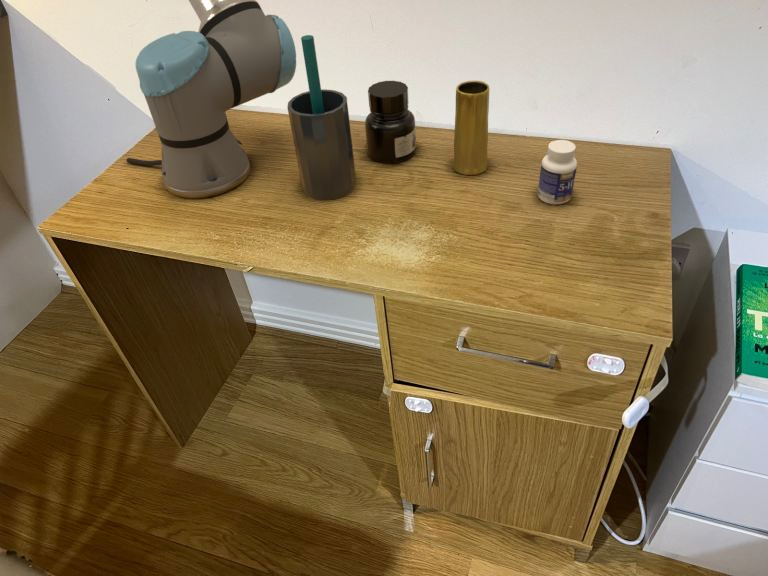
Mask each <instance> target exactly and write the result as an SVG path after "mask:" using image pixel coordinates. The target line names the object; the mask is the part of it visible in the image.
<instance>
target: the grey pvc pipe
mask: <svg viewBox="0 0 768 576" xmlns="http://www.w3.org/2000/svg"><path fill="white" fill-rule="evenodd" d="M321 92H322V99H323V106H324V113H320V114H313V111H312V105H311V98H310V92H309V90H308V91H304V92H301V93H299V94H297V95H295V96H293V97H292V98H291V99H290V100H289V101H288V102H287V113H288V118H289V124H290V128H291V129H290V130H291V135H292V139H293V140H292V141H293V145H294V150H295V151H294V152H295V155H296V161H297V167H298V172H299V177H300V184H301V187H302V190H303V193H304V194H305V195H306V196H308V197H309V198H311V199H314V200H319V201H331V200H332V201H333V200H337V199H341V198H344V197H346V196H348V195H349V194H350V193H352V192H353V191H354V190H355V188H356V186H357V175H356V173H357V172H356V165H355V156H354V148H353V139H352V131H351V122H350V121H351V120H350V114H349V104H348V97H347V96H346V95H345V94H344V93H343V92H341V91H339V90H335V89H326V88H325V89H323V88H321Z"/></svg>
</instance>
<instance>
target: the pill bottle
mask: <svg viewBox="0 0 768 576" xmlns="http://www.w3.org/2000/svg"><path fill="white" fill-rule="evenodd" d="M576 148H577V145H575V143H574V142H572V141H570V140H566V139H557V140H552V141H551V142H549V144H548V146H547V153H546V155H545V156H544V157H543V158H542V160H541V165H540V171H539V172H540V174H539V180H538V186H537V197H538V198H539V200H540V201H542V202H544V203H545V204H549V205H563V204H566V203H568V202H569V201H570V200H571V199H572V195H573V189H574V185H575V179H576V173H577V169H578V160H577V159H576V157H575V155H576Z"/></svg>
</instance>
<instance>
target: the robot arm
mask: <svg viewBox="0 0 768 576" xmlns="http://www.w3.org/2000/svg"><path fill="white" fill-rule="evenodd" d="M188 2H189V4H190V6H191V7H192V9H193V11H194V12H195V14H196V16H197V18H198V19H199V22H200V24H199V27H198V31H195V30H183V31H180V32H178V33H175V32H172V33H170V34H169V33H168V34H166V35H164V36H161V37H159V38H156V39H155V40H153V41H151V42H149V43H148V44H147V45H145V46H144V47H143V48H142V49H141V50H140V52H139V53H138V55H137V57H136V59H135V70H136V74H137V77H138V80H139V87H140V88H139V89H140V90H141V93H142V94H143V96H144V99H145V101H146V104H147V106H148V110H149V112H150V115H151V119H152V121H153V124H154V127H155V129H156V132H157V135H158V138H159V140H160V141H159V142H160V144H161V159H156V160H144V159H138V158H132V157H126V160H125V161H126V163H127V164H132V165H139V166H146V167H153V166H154V167H155V166H161V178H162V181H163V184H164V187H165V189H166V190H167V192H169V193H170V194H172V195H173V196H176V197H179V198H182V199H183V198H184V199H203V198H204V199H205V198H210V197H211V198H212V197H215V196H218V195H222V194H224V193H226V192H229V191H231V190H233V189H235V188H236V187H238V186H239V185H241V184H242V183H243V182H244V181H246V179H247V178H248V176H249V175H250V172H251V164H250V161H249V157H248V155H247V152H245V150H244V149H243V148H242V146H243V144H242V142H241V141H240V140H239V139H237V138H236V136H235V135H234V133H233V132H232V130H231V128H230V124H229V121H228V117H227V113H226V112H227V111H230V110H231V109H233V108H236V107H238V106H239V107H240V106H241V105H243V104H246V103H248V102H251V101H254V100H255V99H258V98H261V97H263V96H265V95H268V94H273V93H275V92H276V91H277V90H279V89H281V88H283V87H285V86H287V85H288V84H289V83H291V81H292V80H293V78H294V76H295V73H296V71H297V70H296V69H297V51H296V46H295V41H294V37H293V34H292V33H291V30H290V27H289V26H288V24H287V23H286V22H285V20H283V19H282V18H281V17H279V16H278V15H276V14H265V12H264V11H263V9H262V7H261V5H260V4H259V2H258V0H188Z"/></svg>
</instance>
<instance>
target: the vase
mask: <svg viewBox="0 0 768 576" xmlns="http://www.w3.org/2000/svg"><path fill="white" fill-rule="evenodd" d="M489 111H490V85H489V84H488V83H486V82H485V81H482V80H468V81H467V80H466V81H462V82H460V83H459V84H457V86H456V88H455V113H454V136H453V161H452V169H453V170H454V171H455V172H456V173H458V174H460V175H463V176H476V175H480V174H482V173H484V172H485V171H487V169H488V167H489V161H488V160H489V159H488V141H489Z"/></svg>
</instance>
